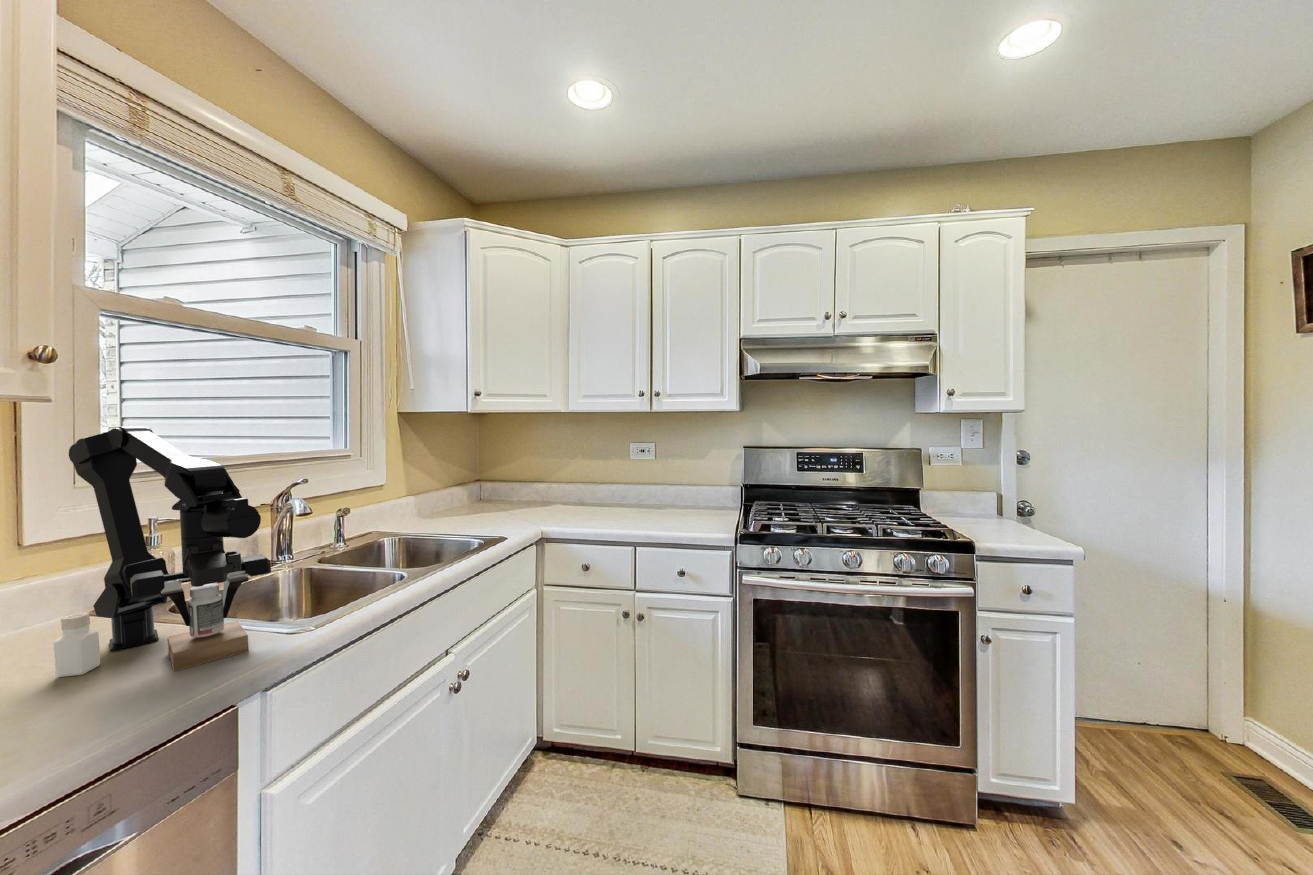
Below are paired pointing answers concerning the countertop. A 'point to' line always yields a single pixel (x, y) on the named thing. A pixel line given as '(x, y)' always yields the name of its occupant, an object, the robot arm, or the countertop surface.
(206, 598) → the pill bottle
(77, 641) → the pepper shaker
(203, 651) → the brown square block
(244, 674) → the countertop surface
